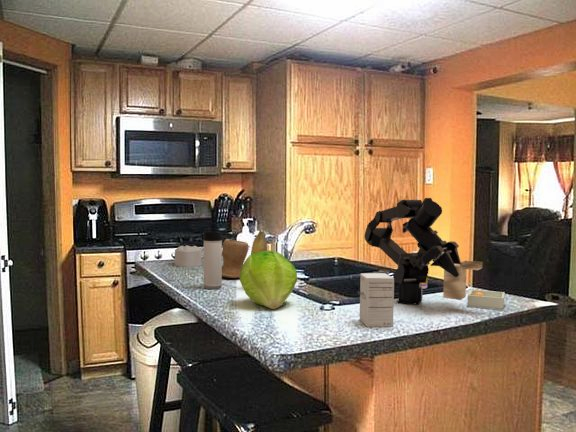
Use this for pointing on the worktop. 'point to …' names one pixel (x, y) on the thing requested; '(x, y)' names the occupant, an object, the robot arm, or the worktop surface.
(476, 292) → the ball
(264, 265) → the lettuce
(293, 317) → the worktop surface
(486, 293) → the tray
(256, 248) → the vegetable
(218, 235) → the travel mug
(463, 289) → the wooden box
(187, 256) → the lumpy-topped squat cylinder
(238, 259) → the stone cup
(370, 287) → the supplement box
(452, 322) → the worktop surface
